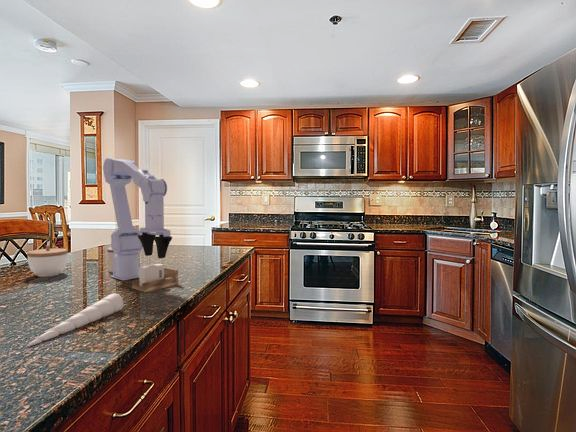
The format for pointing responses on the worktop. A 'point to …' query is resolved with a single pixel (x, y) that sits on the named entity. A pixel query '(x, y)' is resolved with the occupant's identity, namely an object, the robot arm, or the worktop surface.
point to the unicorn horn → (84, 317)
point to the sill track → (159, 281)
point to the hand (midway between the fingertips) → (155, 256)
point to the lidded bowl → (47, 261)
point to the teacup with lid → (110, 259)
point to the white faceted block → (151, 273)
